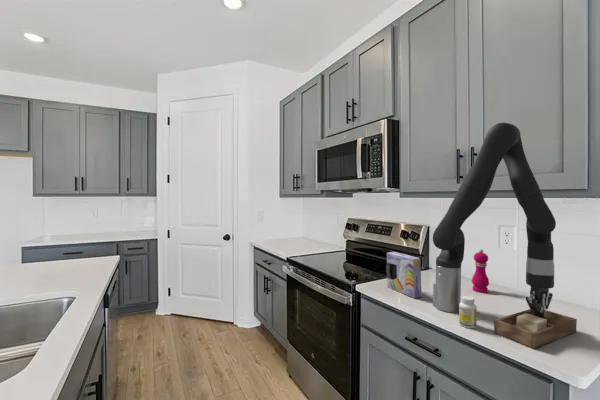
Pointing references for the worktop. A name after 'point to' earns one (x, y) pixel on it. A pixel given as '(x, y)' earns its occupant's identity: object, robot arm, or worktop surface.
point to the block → (531, 322)
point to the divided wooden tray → (555, 330)
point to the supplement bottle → (467, 312)
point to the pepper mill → (480, 273)
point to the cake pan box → (404, 274)
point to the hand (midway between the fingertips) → (539, 322)
